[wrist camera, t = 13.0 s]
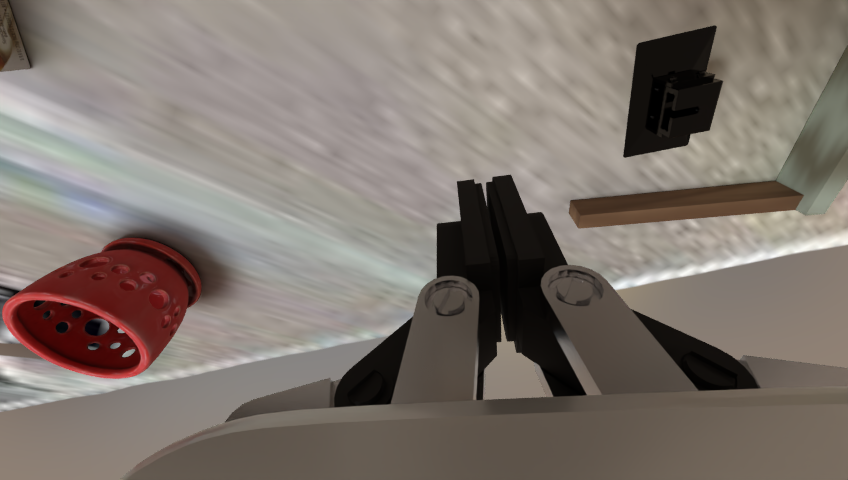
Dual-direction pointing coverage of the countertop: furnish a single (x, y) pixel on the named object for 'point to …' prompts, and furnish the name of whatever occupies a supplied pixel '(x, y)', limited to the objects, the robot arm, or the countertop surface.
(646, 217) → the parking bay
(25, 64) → the coffee box
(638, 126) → the black piece
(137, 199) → the countertop surface
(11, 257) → the countertop surface
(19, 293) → the plant pot
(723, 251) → the countertop surface
